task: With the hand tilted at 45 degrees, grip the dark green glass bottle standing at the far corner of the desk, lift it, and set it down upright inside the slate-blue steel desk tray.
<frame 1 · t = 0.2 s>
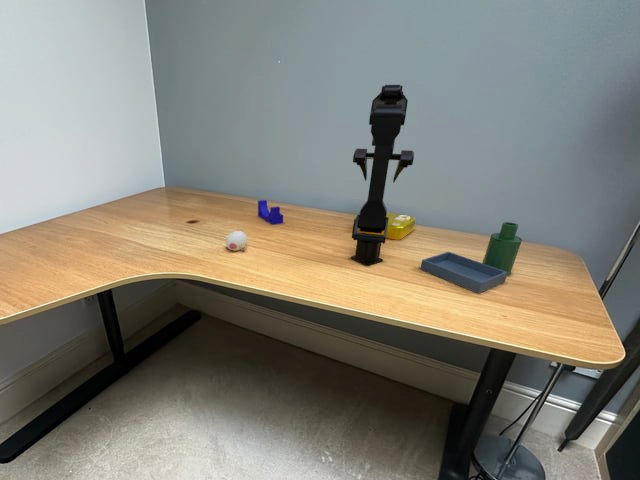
hand: (379, 181, 128), 15 cm above the table, tool pointing down, fingers open, 9 cm apart
element tile: (385, 231, 129), on the table
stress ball: (235, 249, 114), on the table
tray: (460, 275, 97), on the table
bottle: (495, 271, 99), on the table
cable clip: (270, 219, 141), on the table
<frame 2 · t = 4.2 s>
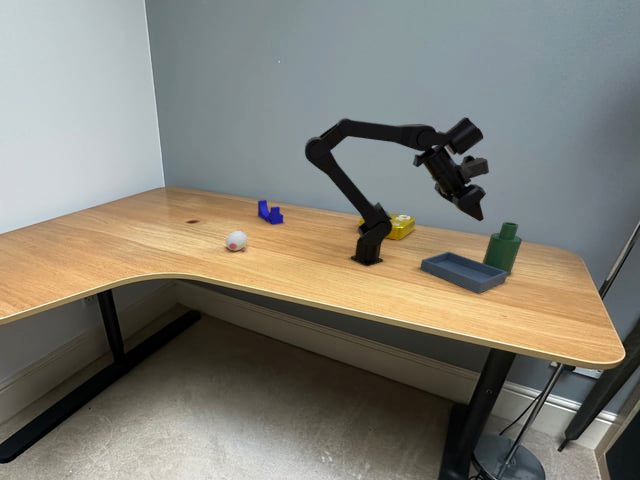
hand: (474, 214, 97), 14 cm above the table, tool tilted 40°, fingers open, 9 cm apart
nothing on the table moved.
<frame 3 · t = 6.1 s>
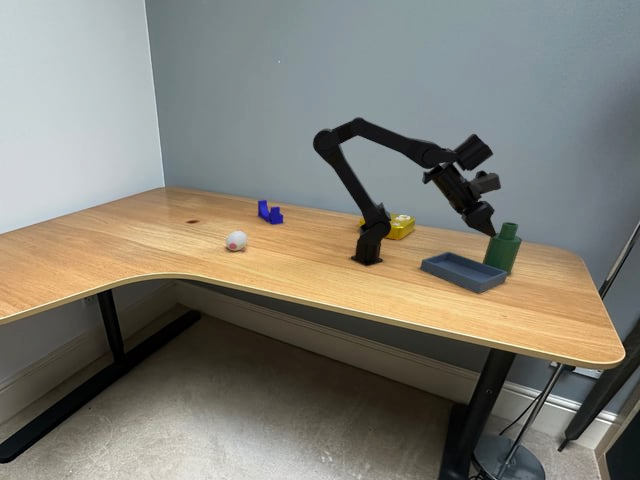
hand: (488, 230, 95), 11 cm above the table, tool tilted 45°, fingers open, 9 cm apart
nothing on the table moved.
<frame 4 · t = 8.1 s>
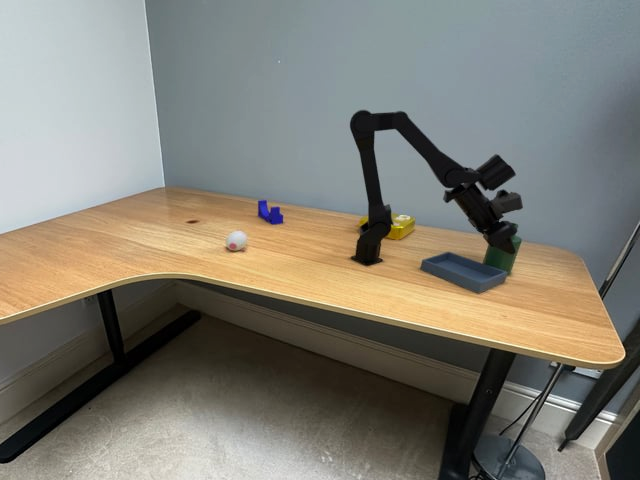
hand: (508, 248, 96), 7 cm above the table, tool tilted 45°, fingers closed on bottle, 7 cm apart
bottle: (495, 271, 99), on the table, touching gripper
everything else where it was.
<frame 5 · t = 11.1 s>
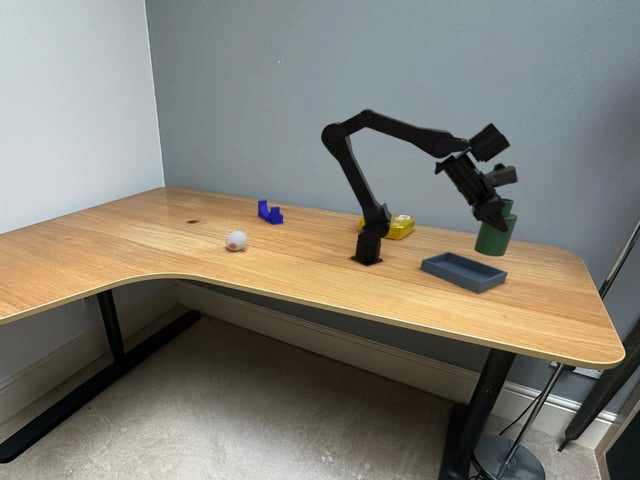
hand: (503, 226, 90), 13 cm above the table, tool tilted 45°, fingers closed on bottle, 7 cm apart
bottle: (489, 251, 93), point 7 cm above the table, touching gripper
everything else where it was.
when the fingers open (7 cm above the table, at t = 14.3 s): bottle stays where it is, resting on tray.
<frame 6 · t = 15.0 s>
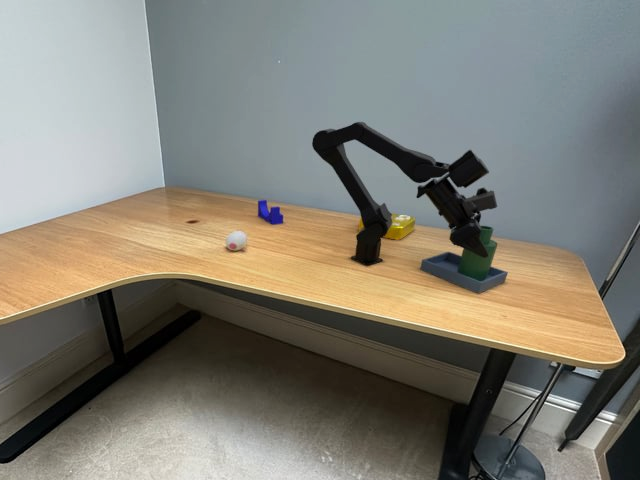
hand: (486, 250, 91), 8 cm above the table, tool tilted 45°, fingers open, 9 cm apart
bottle: (471, 276, 95), point 1 cm above the table, touching tray
everything else where it was.
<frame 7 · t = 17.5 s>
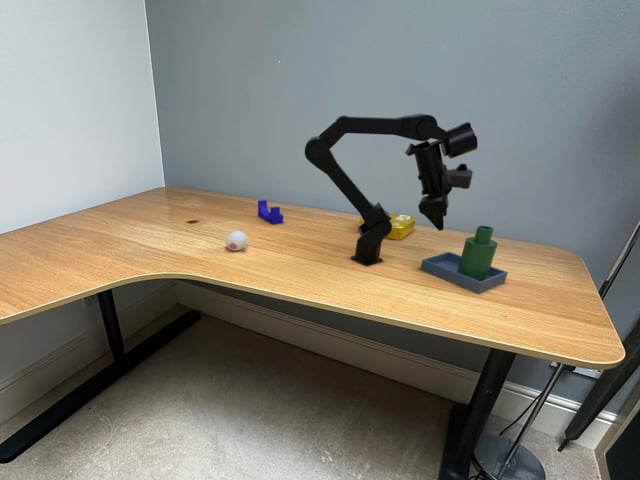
hand: (442, 222, 98), 12 cm above the table, tool tilted 25°, fingers open, 9 cm apart
nothing on the table moved.
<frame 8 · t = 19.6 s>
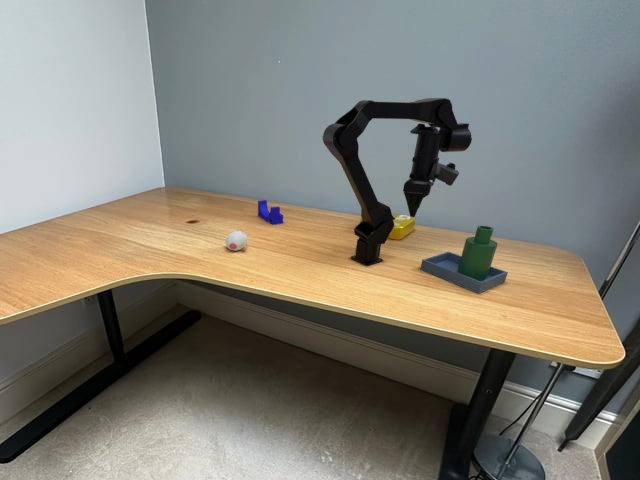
hand: (414, 212, 102), 13 cm above the table, tool pointing down, fingers open, 9 cm apart
nothing on the table moved.
at the end: bottle inside the target area in the tray (2.4 cm from its centre), point 0.6 cm above the tray's base; bottle tilted 0°; the gripper is holding nothing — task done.
